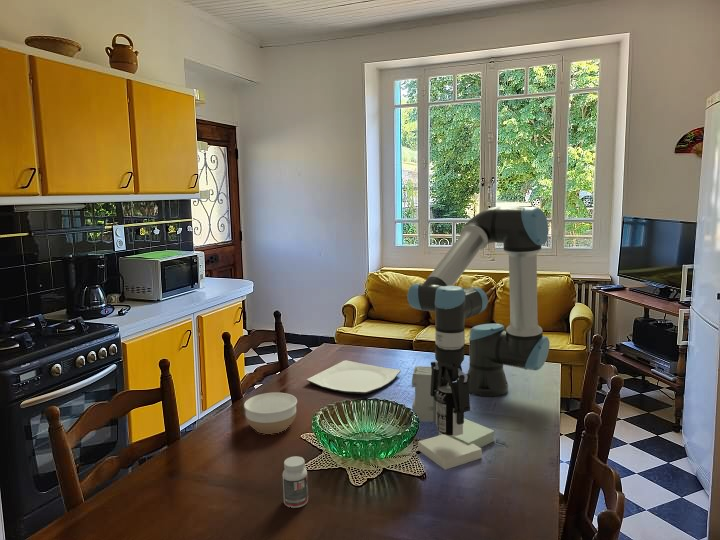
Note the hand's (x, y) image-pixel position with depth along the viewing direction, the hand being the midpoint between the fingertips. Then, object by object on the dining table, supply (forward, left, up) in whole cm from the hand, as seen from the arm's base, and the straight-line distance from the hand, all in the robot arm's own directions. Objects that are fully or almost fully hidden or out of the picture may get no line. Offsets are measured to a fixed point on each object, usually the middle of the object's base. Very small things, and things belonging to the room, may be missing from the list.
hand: (449, 429), depth 141 cm
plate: (-4, -63, -8) cm, 64 cm away
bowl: (+36, -41, -7) cm, 55 cm away
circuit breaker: (-11, -21, -7) cm, 25 cm away
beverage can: (0, 0, -1) cm, 1 cm away
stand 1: (-9, -4, -7) cm, 12 cm away
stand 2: (0, 0, -7) cm, 7 cm away
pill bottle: (+44, 0, -7) cm, 45 cm away
